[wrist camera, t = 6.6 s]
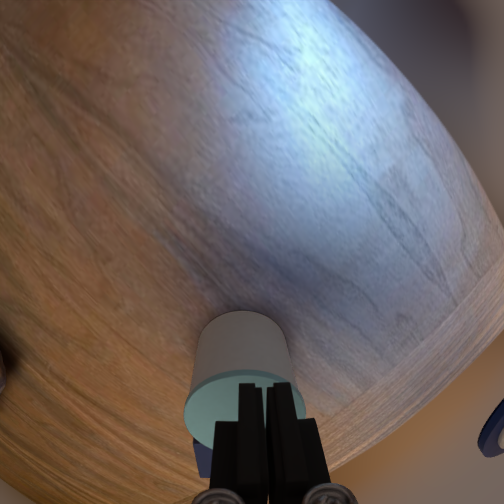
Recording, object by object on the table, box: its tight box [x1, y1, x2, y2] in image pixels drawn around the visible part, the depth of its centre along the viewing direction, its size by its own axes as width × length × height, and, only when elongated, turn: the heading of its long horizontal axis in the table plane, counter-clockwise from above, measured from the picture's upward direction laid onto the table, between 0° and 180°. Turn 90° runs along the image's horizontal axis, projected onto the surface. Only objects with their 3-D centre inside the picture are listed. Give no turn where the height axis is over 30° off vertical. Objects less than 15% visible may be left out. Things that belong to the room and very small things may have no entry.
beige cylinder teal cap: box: [184, 311, 306, 449], centre depth 21 cm, size 10×7×10 cm
